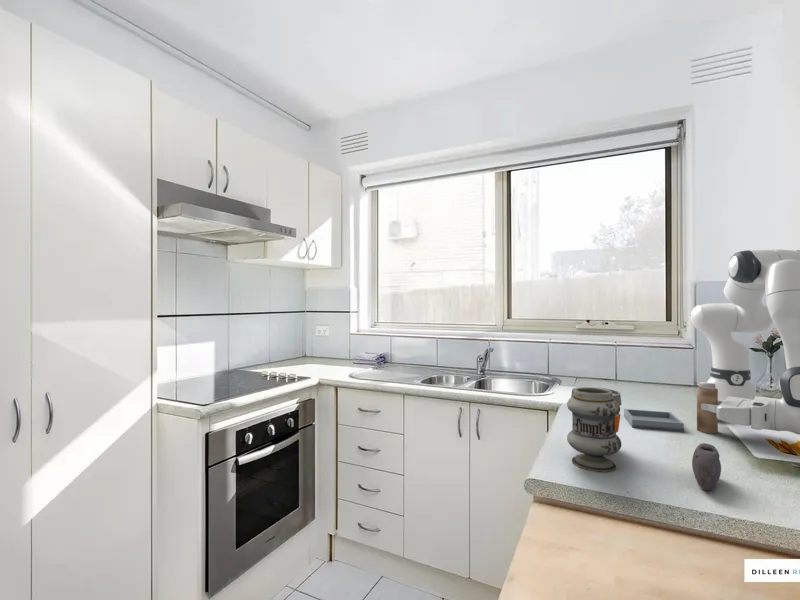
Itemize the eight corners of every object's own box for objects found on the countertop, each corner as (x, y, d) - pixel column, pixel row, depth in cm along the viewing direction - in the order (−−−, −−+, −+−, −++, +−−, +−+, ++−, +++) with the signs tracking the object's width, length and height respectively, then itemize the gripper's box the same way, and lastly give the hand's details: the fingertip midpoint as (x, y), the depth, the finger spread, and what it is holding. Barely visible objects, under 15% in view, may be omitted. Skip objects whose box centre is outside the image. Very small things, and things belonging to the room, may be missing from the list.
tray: (624, 416, 147) (624, 408, 147) (670, 419, 143) (670, 412, 143) (632, 427, 134) (632, 419, 134) (683, 431, 129) (683, 423, 129)
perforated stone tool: (720, 499, 85) (720, 464, 85) (688, 491, 88) (688, 458, 88) (721, 475, 97) (721, 444, 97) (693, 469, 100) (693, 440, 100)
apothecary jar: (575, 451, 112) (575, 383, 112) (626, 462, 104) (626, 389, 104) (560, 465, 103) (559, 390, 103) (614, 478, 95) (614, 397, 95)
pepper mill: (694, 427, 133) (694, 381, 133) (714, 429, 132) (713, 382, 132) (700, 432, 128) (700, 384, 128) (720, 434, 127) (720, 385, 127)
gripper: (766, 395, 128) (710, 389, 138) (758, 407, 114) (696, 399, 124) (766, 416, 128) (710, 408, 138) (758, 431, 114) (696, 420, 124)
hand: (703, 404), depth 131 cm, fingers closed on pepper mill, 5 cm apart
